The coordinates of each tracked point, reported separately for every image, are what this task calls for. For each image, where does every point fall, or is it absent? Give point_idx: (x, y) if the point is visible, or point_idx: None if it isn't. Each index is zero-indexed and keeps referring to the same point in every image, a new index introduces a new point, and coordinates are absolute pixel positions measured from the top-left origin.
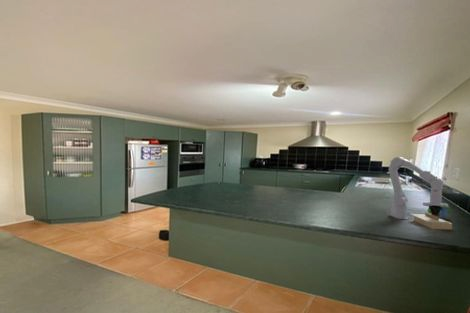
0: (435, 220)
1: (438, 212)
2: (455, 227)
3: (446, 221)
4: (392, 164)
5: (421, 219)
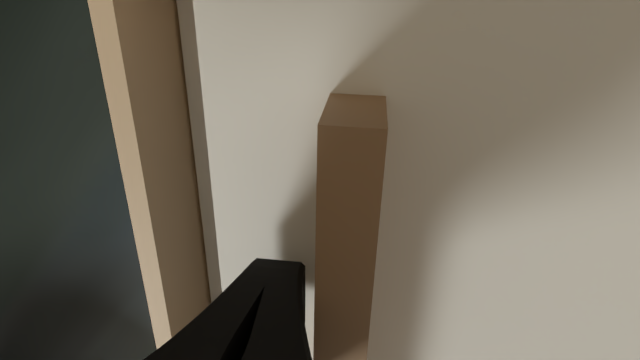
0: (459, 65)
1: (178, 345)
2: (15, 91)
3: (128, 98)
4: None
5: None
